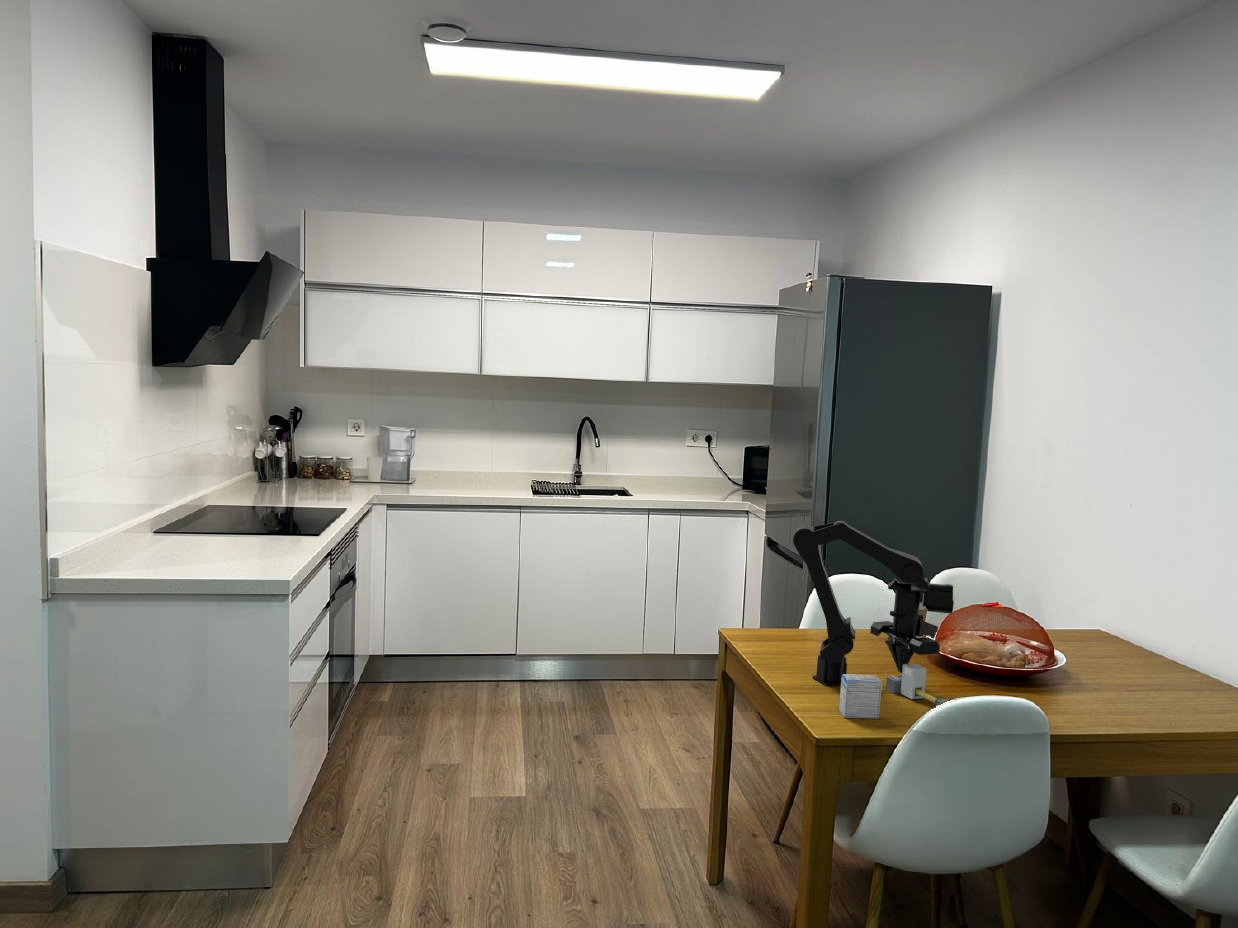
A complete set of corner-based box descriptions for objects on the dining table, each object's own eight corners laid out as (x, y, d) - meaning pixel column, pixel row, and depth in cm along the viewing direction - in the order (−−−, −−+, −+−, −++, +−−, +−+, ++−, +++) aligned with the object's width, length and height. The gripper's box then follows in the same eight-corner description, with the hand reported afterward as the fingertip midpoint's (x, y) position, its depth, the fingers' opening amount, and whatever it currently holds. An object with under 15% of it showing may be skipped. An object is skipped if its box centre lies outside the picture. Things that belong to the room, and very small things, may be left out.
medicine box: (873, 712, 207) (876, 674, 206) (879, 719, 203) (882, 681, 202) (838, 710, 207) (841, 673, 206) (843, 718, 202) (846, 679, 201)
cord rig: (940, 718, 205) (941, 703, 205) (885, 689, 222) (886, 675, 222) (961, 716, 207) (962, 700, 207) (905, 687, 225) (906, 673, 224)
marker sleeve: (911, 699, 216) (914, 669, 215) (900, 693, 219) (902, 664, 218) (924, 697, 217) (926, 668, 216) (912, 691, 221) (915, 663, 220)
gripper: (961, 617, 215) (955, 682, 216) (907, 597, 232) (902, 657, 234) (922, 619, 211) (917, 686, 212) (871, 599, 228) (866, 661, 229)
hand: (901, 672), depth 222 cm, fingers closed
